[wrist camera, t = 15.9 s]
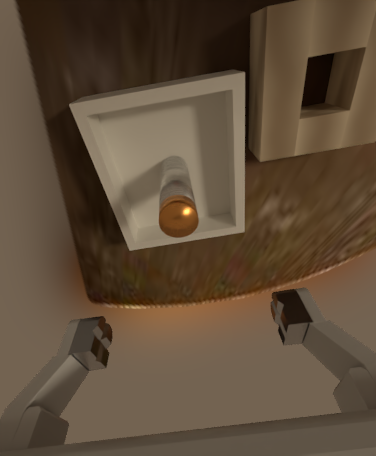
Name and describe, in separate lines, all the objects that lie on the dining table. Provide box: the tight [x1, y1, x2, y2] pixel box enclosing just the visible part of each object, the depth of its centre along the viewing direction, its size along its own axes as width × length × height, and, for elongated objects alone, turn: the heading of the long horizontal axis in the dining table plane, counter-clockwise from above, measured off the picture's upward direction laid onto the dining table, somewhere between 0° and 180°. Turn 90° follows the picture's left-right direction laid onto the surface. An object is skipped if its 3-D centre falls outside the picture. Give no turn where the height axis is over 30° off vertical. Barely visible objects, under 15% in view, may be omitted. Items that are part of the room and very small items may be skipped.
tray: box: [69, 69, 245, 250], centre depth 24 cm, size 14×16×4 cm
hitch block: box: [248, 0, 376, 162], centre depth 20 cm, size 11×11×4 cm
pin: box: [159, 156, 199, 238], centre depth 21 cm, size 3×3×10 cm
